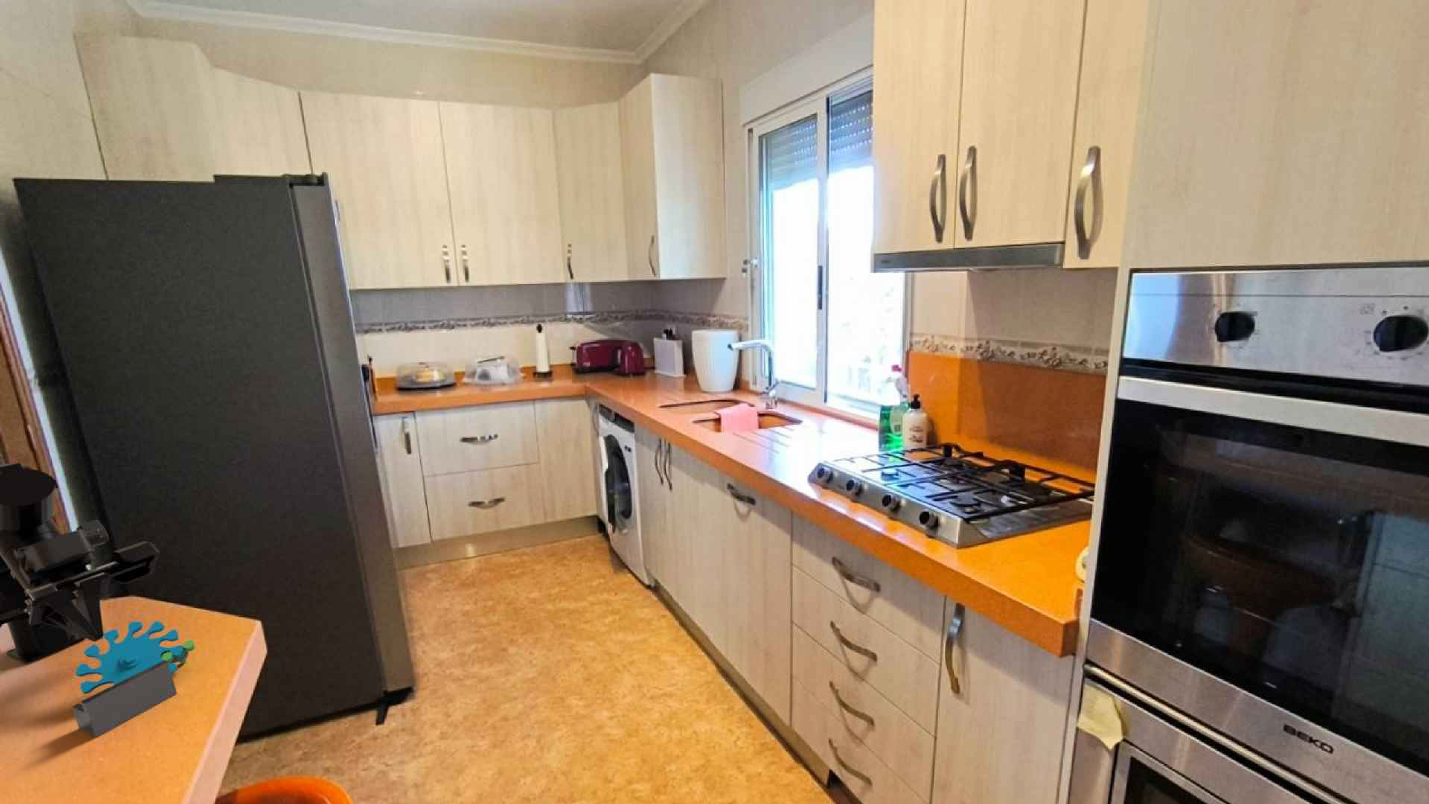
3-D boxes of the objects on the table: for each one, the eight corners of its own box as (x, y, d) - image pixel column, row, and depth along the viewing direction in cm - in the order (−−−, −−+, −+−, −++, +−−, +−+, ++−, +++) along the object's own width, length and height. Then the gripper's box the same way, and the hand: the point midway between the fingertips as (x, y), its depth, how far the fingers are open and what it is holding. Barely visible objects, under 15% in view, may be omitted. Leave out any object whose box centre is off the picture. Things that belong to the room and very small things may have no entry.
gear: (67, 711, 72) (80, 628, 76) (81, 723, 76) (92, 643, 80) (190, 684, 78) (195, 609, 83) (197, 696, 82) (200, 624, 87)
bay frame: (79, 728, 71) (68, 695, 70) (159, 686, 78) (150, 655, 77) (95, 737, 70) (85, 703, 69) (177, 693, 76) (168, 662, 76)
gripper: (-75, 542, 68) (-3, 650, 66) (134, 485, 84) (198, 570, 82) (-78, 595, 73) (-10, 697, 70) (121, 532, 89) (181, 612, 87)
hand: (99, 638), depth 77 cm, fingers closed
